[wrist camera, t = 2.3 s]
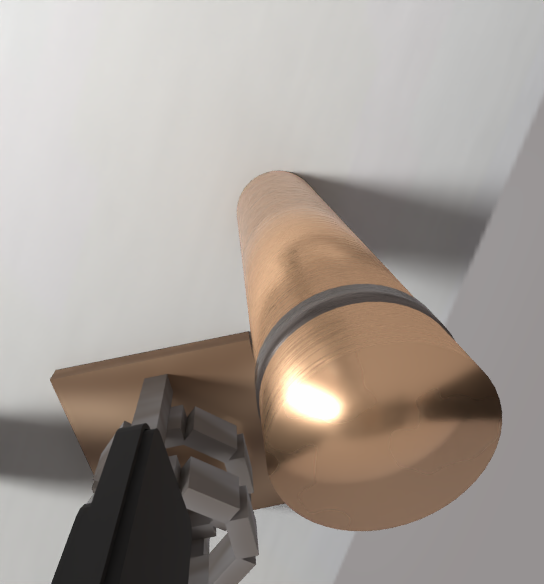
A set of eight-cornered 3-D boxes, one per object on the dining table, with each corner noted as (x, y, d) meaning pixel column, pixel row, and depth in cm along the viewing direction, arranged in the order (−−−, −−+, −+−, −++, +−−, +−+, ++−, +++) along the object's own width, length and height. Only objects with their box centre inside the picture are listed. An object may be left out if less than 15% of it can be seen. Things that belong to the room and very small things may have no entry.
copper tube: (227, 178, 24) (240, 371, 7) (312, 162, 24) (511, 316, 7) (244, 258, 26) (284, 552, 9) (323, 243, 26) (499, 507, 9)
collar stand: (55, 370, 27) (-11, 479, 20) (248, 331, 28) (258, 424, 20) (125, 525, 33) (96, 656, 25) (284, 491, 33) (302, 612, 26)
